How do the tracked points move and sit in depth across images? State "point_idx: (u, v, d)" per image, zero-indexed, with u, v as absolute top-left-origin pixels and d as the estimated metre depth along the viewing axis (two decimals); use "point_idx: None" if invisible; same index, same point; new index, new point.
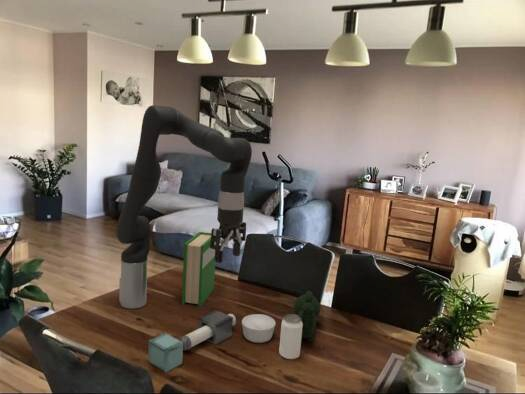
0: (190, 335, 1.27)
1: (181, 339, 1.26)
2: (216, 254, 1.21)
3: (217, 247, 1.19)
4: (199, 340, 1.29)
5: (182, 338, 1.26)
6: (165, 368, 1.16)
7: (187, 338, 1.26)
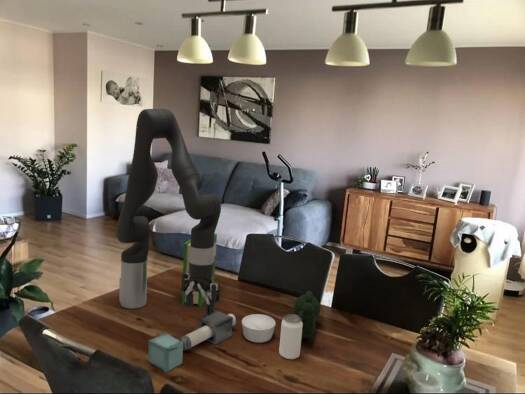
0: (190, 335, 1.27)
1: (181, 339, 1.26)
2: (211, 307, 1.25)
3: None
4: (199, 340, 1.29)
5: (182, 338, 1.26)
6: (165, 368, 1.16)
7: (187, 338, 1.26)
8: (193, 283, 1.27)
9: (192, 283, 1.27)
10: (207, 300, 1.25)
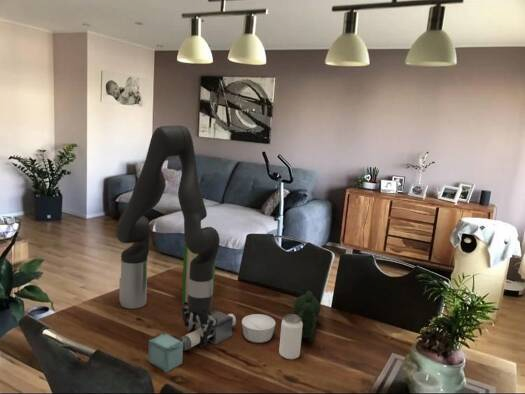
0: (190, 335, 1.27)
1: (181, 339, 1.26)
2: (205, 339, 1.29)
3: None
4: (199, 340, 1.29)
5: (182, 338, 1.26)
6: (165, 368, 1.16)
7: (187, 338, 1.26)
8: (191, 314, 1.29)
9: (191, 314, 1.29)
10: (201, 332, 1.28)
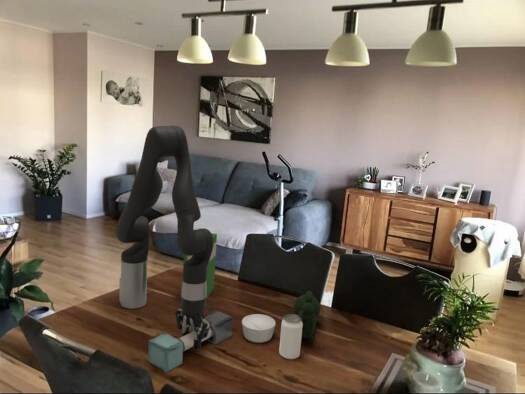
0: (183, 338, 1.25)
1: None
2: (199, 343, 1.27)
3: None
4: (193, 343, 1.26)
5: None
6: (165, 368, 1.16)
7: None
8: (185, 317, 1.26)
9: (184, 317, 1.27)
10: (195, 335, 1.26)
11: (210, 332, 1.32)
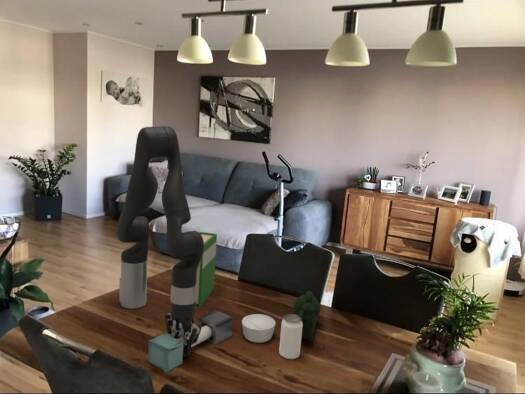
0: None
1: None
2: (188, 348, 1.23)
3: None
4: None
5: None
6: (165, 368, 1.16)
7: None
8: (174, 322, 1.23)
9: (174, 322, 1.23)
10: (185, 341, 1.22)
11: (201, 337, 1.29)
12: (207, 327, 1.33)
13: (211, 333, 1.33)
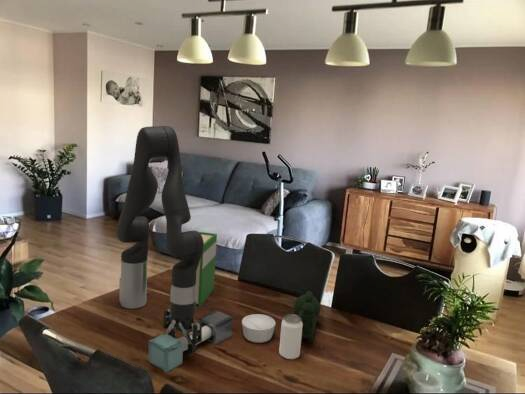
0: None
1: None
2: (193, 347, 1.22)
3: None
4: None
5: None
6: (165, 368, 1.16)
7: None
8: (174, 321, 1.23)
9: (173, 322, 1.23)
10: (188, 340, 1.21)
11: None
12: (207, 327, 1.33)
13: (211, 333, 1.33)
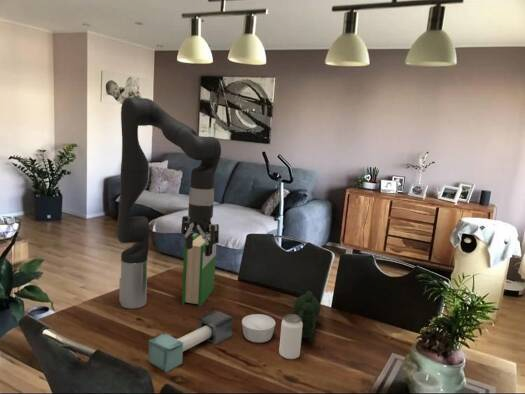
0: None
1: None
2: (210, 248, 1.28)
3: None
4: None
5: None
6: (165, 368, 1.16)
7: None
8: (192, 224, 1.29)
9: (192, 225, 1.29)
10: (206, 241, 1.27)
11: (201, 337, 1.29)
12: (207, 327, 1.33)
13: (211, 333, 1.33)
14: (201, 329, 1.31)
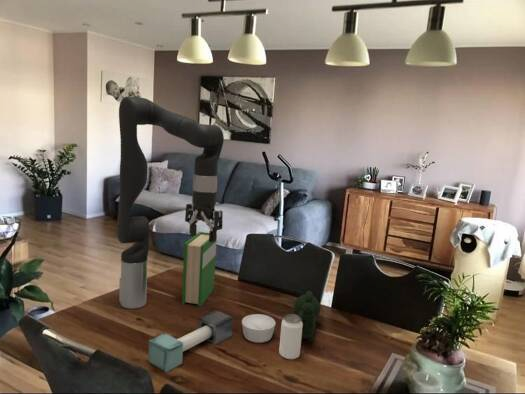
0: None
1: None
2: (214, 234, 1.30)
3: None
4: None
5: None
6: (165, 368, 1.16)
7: None
8: (196, 211, 1.31)
9: (196, 212, 1.32)
10: (210, 227, 1.30)
11: (201, 337, 1.29)
12: (207, 327, 1.33)
13: (211, 333, 1.33)
14: (201, 329, 1.31)
